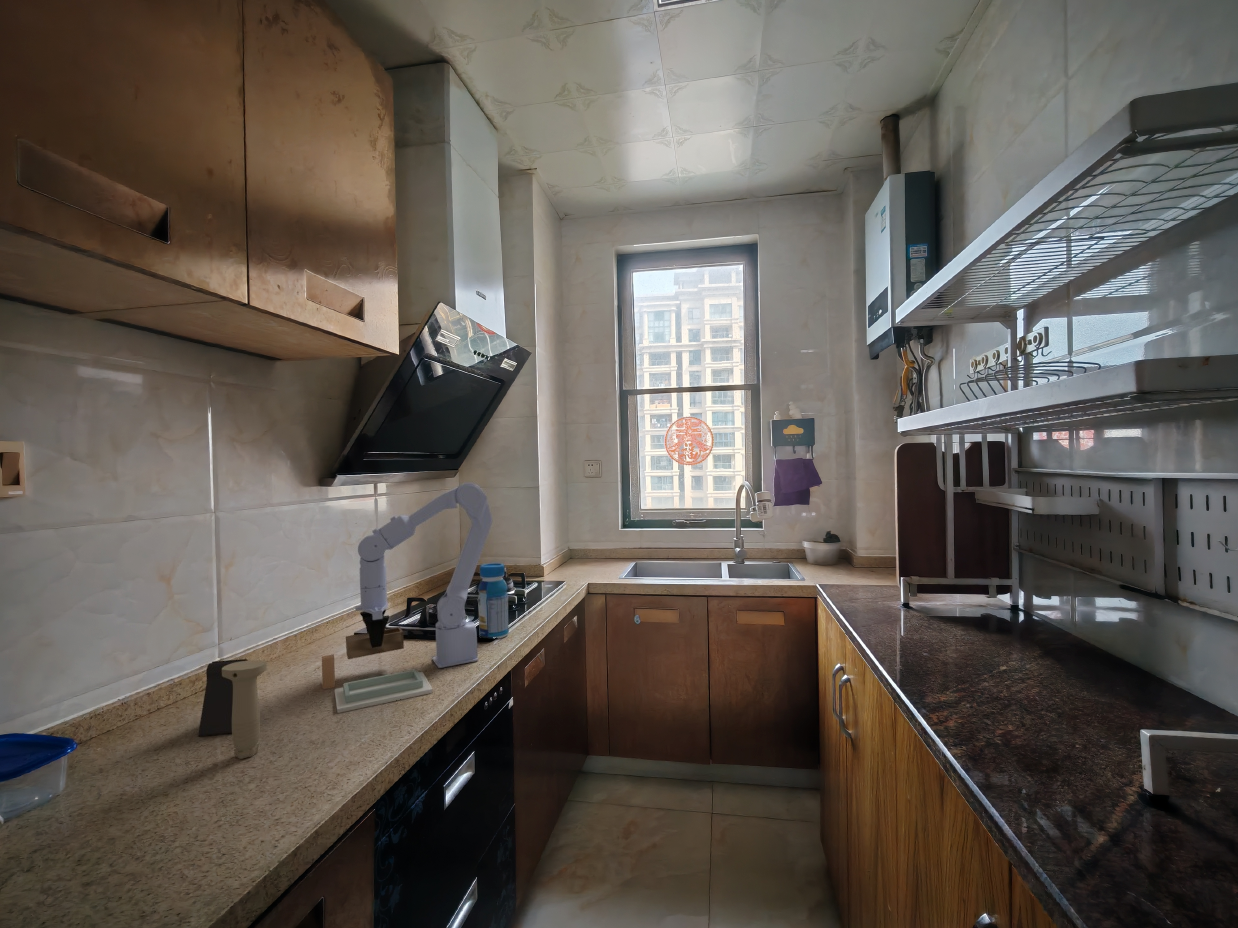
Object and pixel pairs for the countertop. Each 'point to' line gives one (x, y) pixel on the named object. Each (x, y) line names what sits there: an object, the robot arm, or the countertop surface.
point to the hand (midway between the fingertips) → (375, 643)
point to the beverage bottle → (493, 601)
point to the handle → (245, 705)
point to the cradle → (381, 690)
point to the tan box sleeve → (362, 646)
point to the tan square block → (328, 671)
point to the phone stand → (217, 701)
